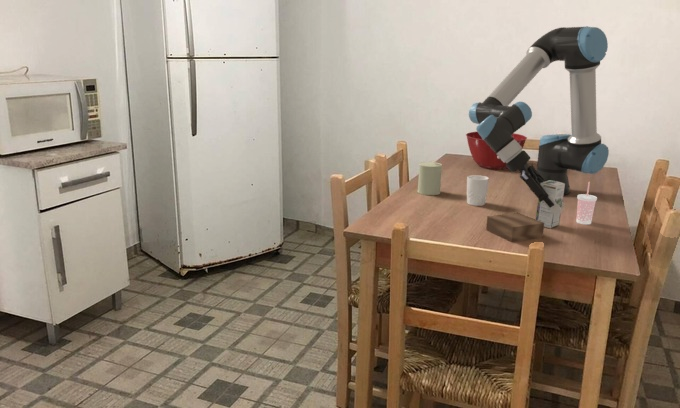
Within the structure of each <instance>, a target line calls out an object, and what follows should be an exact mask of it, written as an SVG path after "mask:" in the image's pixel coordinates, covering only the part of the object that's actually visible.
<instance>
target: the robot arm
mask: <svg viewBox="0 0 680 408" xmlns="http://www.w3.org/2000/svg"><path fill="white" fill-rule="evenodd" d="M608 44H609V42H608V38H607V35H606V34H605V32H604V31H603V30H602V29H601V28H599V27H597V26H596V27H594V26H587V25H586V26H571V27H568V26H567V27H557V28H555V29H551V30H550V31H548V32H547V33H544V34H543V35H542V36H541V37H539V38H538V39H537V40H536V41H534V42H533V43H532V44H531V45H530V47H528V48H527V50H526V52H525V53H526V55H525V56H524V57H523V58H522V59H521V60H520V61H519V62H518V64H516V66H515V67H514V68H513V69H512V70H511V71H510V72H509V73H508V74H507V75H506V76H505V78H504V79H503V80H502V81H501V82H500V83H499V84H498V85H497V86H496V88H494V90H492V92H491V93H489V95H488V96H487V97H486V98H485V99H484V101H482V102H474V103H472V105H471V106H470V107H469V110H468V117H469V120H470V121H471V122H472V123H473V124H476V125H477V126H476V128H475V130H476V132H478V133H479V135H480V136H481V137H482V139H483V140H484V141H485V142H486V143H487V144H488V145H489V146H490V148H491V149H492V150H493V151H494V152H495V153H497V155H498V157H497V158H498V159H501V160H502V161H503V162H504V163H505V162H506V166H507V169H508V170H509V171H510V172H511V173H514V172H516V171H518V172H519V173H520V174H519V177H520V179H521V180H522V181H523V182H524V183H525V184H526V186H528V188H529V189H530V191H532V193H533V194H534V195H535V197H537V200H538V199H539V202H541V201H543V202H544V203H545V204H546V205H547V207H548V208H549V209H550V210H551V211H552V212H553V214H554V215H555V216H557V215H559V214H560V213H561V214H562V213H563V212H564V210H563V208H564V207H565V206H566V204H565V203H564V202H562V208H560V207H559V205H558V204H557V203H556V202H555V201H554V200H553V198H552V197H551V196H550V195H549V196H548V194H547V193H546V191H545V190H544V189H543V187H542V186H541V185H540V183H542V182H545V181H548V180H552V181H558V182H561V183H564V184H565V188H564V195H568V194H569V193H570V190H571V187H570V182H569V177H568V170H570V171H575V172H579V173H580V172H581V173H582V174H592V175H593V174H597V173H598V172H600V171H601V170H602V169H603V168H604V167H605V165H606V163H607V161H608V159H609V155H610V154H609V152H610V151H609V147H608V146H607V145H606V144H605V143H602V136H601V135H600V134H599V133H598V132H597V131H598V130H597V129H598V128H597V85H596V84H597V81H596V80H597V79H596V71H597V69H598V67H600V65H601V61H602V60H604V58H605V57H606V55H607V51H608ZM558 61H560V62H564V70H566V71H567V72H568V73H569V91H570V93H569V95H570V120H571V122H570V124H571V134H566V133H564V134H563V133H561V134H560V133H559V134H557V133H556V134H545V135H543V136H541V138H540V141H539V144H538V155H537V164H536V168H535V166H534V165H533V164H530V165H529V164H528V162H529V161H530V160H531V156H530V155H529V154H528V153H527V152H526V151H525V150H523V148H522V147H521V146H520V145H519V143H518V142H517V141H516V140H515V139H514V138H513V137H512V134H513V133H515V132H517V131H518V130H519V129H520V130H521V128H522V127H524V126H526V124H527V123H528V122H529V121H530V120H532V116H533V112H532V109H531V107H530V105H528V104H527V103H526V102H523V101H517V102H515V103H513V104H512V105H511V103H512V102H513V101H514V100H515V99H516V98H517V97H518V95H519V94H520V93H521V92H522V91H523V90H524V89H525V88H526V87H527V86H528V84H529V83H530V82H531V81H532V80H533V79H534V78H535V77H537V75H538V74H539V73H540V72H541V70H542V69H546V68H548V67H549V66H550V64H552V63H554V62H558ZM509 105H511V106H509ZM512 140H513V141H512ZM511 141H512V142H511ZM506 145H507V146H506ZM501 149H502V150H501ZM521 149H522V150H521ZM564 195H563V196H564Z"/></svg>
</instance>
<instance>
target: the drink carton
mask: <svg viewBox="0 0 680 408" xmlns="http://www.w3.org/2000/svg"><path fill="white" fill-rule="evenodd" d="M540 185H541V186H542V187H543V189H544V190H545V191H546V193H547V194H548V196H549V195H550V196H551V197H552V198H553V200H554V201H555V202H556V203H557V204H558V205H559V207H560V208H561V209H563V207H562V202H563V201H564V188H565V184H564V183H561V182H558V181H552V180H548V181H545V182H542V183H540ZM563 203H564V202H563ZM536 207H537V208H536V214H535V215H536V216H535V220H538V221H541V222H543V223H544V228H548V229H553V228H555V227H557V226H560V221H561V214H562V213H560V214H559V215H557V216H555V215H554V214H553V212H552V211H551V210H550V209H549V208H548V207H547V205H546V204H545V203H544V202H543V201H541V202H539V199H538V198H537V206H536Z"/></svg>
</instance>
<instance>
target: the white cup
mask: <svg viewBox="0 0 680 408" xmlns="http://www.w3.org/2000/svg"><path fill="white" fill-rule="evenodd" d="M489 181H490V178H489V176H485V175H480V174H479V175H477V174H474V175H467V176H466V204H468V205H470V206H474V207H475V206H477V207H480V206H481V207H482V206H485V205H486V201H487V196H488V190H489V189H488V188H489Z"/></svg>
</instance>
